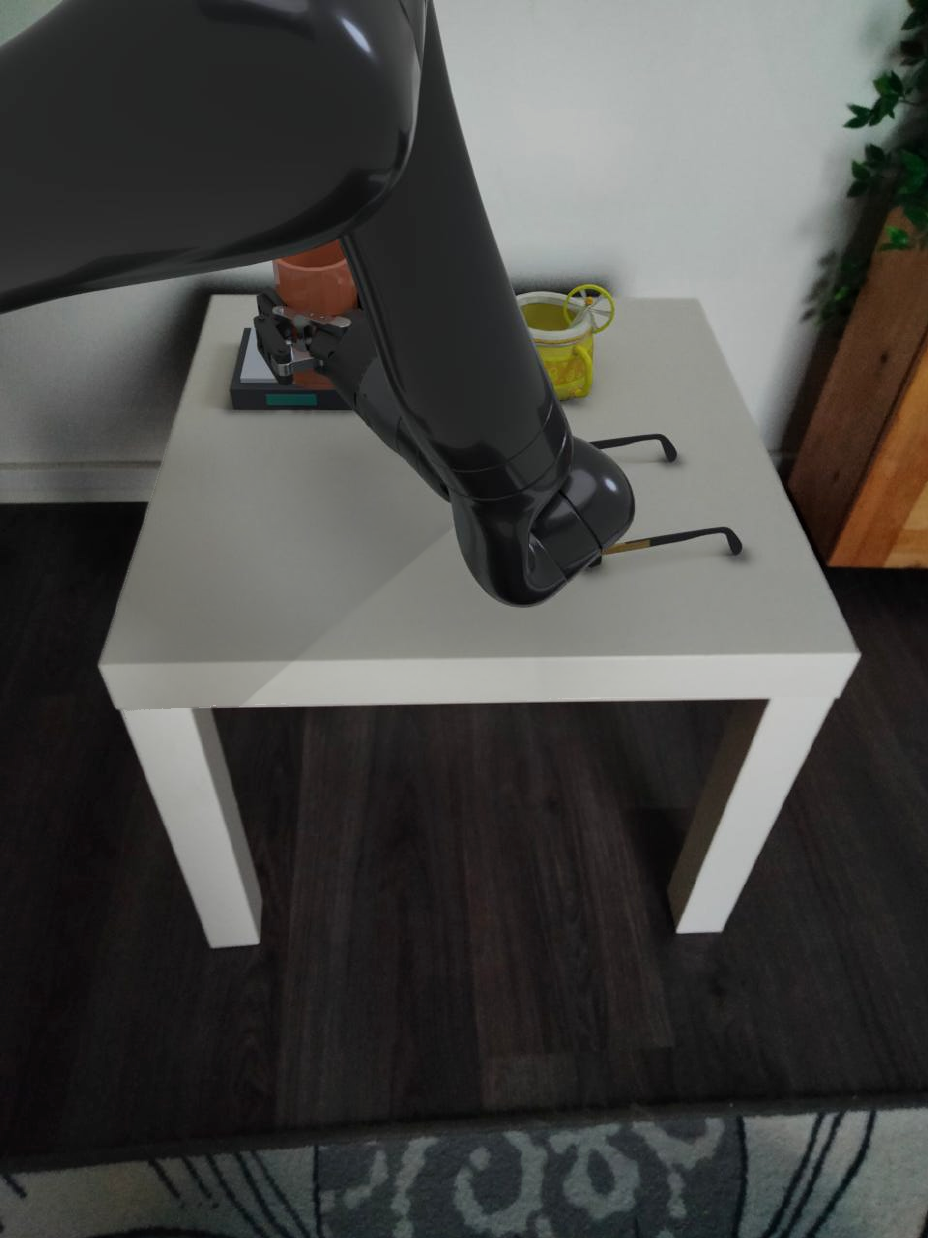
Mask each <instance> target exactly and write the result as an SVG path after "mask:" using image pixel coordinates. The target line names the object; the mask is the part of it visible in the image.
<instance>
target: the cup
mask: <svg viewBox="0 0 928 1238" xmlns="http://www.w3.org/2000/svg"><path fill="white" fill-rule="evenodd" d="M271 262H272V263H271V264H272V272H273V279H274V286H275V293H276V294H277V295H278V296H279V297H280V298H281V299H282V300H283V301H284V302H285V303H286V304H287V307H288V308H291V309H294V310H297V311H300V312H302V311H303V310H305V309H307V308H308V309H311V310H314V311H317V312H320V313H323V314H326V315H329V316H332V315H340V314H344V313H346V312H348V311H351V310H355V309H358V301H357V289H356V286H355V284H354V281H353V278H352V275H351V272H350V269H349V266H348V264H347V261H346V258H345V256H344V253H343V251H342V249H341V246H340V244H339V241H338V240H335V241H333V242H330V243H328V244H325V245H323V246H321V247H318V248H316V249H313V250H310V251H307V252H303V253H300V254H297V255H294V256H289V257H285V258H280V259H276V260H271ZM291 330H292V332H294V333H296V328H295V326H294V325H292V324H291ZM315 330H316V327H314V333H315ZM293 376H294V383H296V384H298V385H300V386H303V387H307V388H312V389H332V388H335V387H334V386H333V384H332V382H331V381H330V379H329V378H327V377H325V376H322V375H319V374H317V373H316V372H314V371H313V370H312V369H311V370H306V371H302V372H297V373H293Z"/></svg>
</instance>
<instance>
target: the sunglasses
mask: <svg viewBox="0 0 928 1238" xmlns="http://www.w3.org/2000/svg"><path fill="white" fill-rule="evenodd" d="M654 440H657V441H659V442H660V443H661V446H662V448H663V452H664V455H665V457H666V459H667V460H668V461H669V462H670V463H671V462H675V461H676V460H677V457H678V451H677V449H676V448H675V446H674V444H673V443H672V442H671V440H670V439H669V438H668V437H667V436H666V435H665V434H663V433H650V434H649V433H648V434H640V435H632V436H631V435H630V436H623V437H615V438H609V439H602V440H594V441H587V442H588V443H590V444H591V445H593V446H595V447H597V448H598V449H600V450H606V449H613V448H619V447H625V446H628V445H631V444H632V445H633V444H636V443H640V442H646V441H654ZM715 534H717V535H718V534H723V535H725V538H726V541H727V544H728V547H729V549H730V552H731V553H732V555H735V556H737V555H739V554H741V552H742V550H743V543H742V541H741V540H740V538H739V536H738V535H737V534H736V533H735V531H733V530H732V529H731V528H730V527H728V526H716V527H709V528H708V527H707V528H702V529H696V530H695V529H694V530H688V531H682V532H676V533H670V534H663V535H658V536H657V535H656V536H651V537H645V538H640V539H634V540H629V541H624V542H616V543H615V544H614V545H613V546H611V547H610V548H609V549H608V550H607V551H605V552H604V553H603V554H601V555H600V556H599V557H598V558H597V559H596V560H595V561H593V562H592V563H591V564H590V565H589V566H588V567H587V568H594V567H597V566H600V565H601V564H602V561H603V557H604V556H609V555H615V554H619V553H620V554H621V553H626V552H627V553H628V552H633V551H638V550H643V549H648V548H653V547H658V546H664V545H669V544H674V543H680V542H686V541H688V540H693V539H696V538H699V537H704V536H708V535H715Z"/></svg>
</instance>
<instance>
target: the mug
mask: <svg viewBox="0 0 928 1238" xmlns="http://www.w3.org/2000/svg"><path fill="white" fill-rule="evenodd" d="M586 290H594V291H597V292H599V293H600V294H599V295H598V297H597V298H596V299H595V300H594V298H593V297H592V296H588V297H587V294H586V293H587V292H586ZM577 292H579V293H580V295H581V298H582V300H583V302H584V303H583V302H582V301H581V300H579V299H577V298H575V297H572V296H573V295H574V294H576V293H577ZM516 298H517V300H518V303H519V306H520V308H521V311H522V313H523V316H524V318H525V321H526V323H527V326H528V328H529V331H530V333H531V335H532V338H533V340H534V342H535V345H536V347H537V350H538V352H539V354H540V356H541V359H542V361H543V363H544V366H545V368H546V370H547V372H548V375H549V377H550V379H551V382H552V384H553V387H554V389H555V391H556V394H557V396H558V399H559V401H562V400H566V399H575V398H578V399H584V398H586V397H587V396H588V395H589V394H590V392H591V389H592V385H593V381H594V379H593V378H594V365H593V364H594V335H595V334H598V333H601V332H603V331H605V330H606V329H607V328H608V327H609V326H610V324H611V323H612V321H613V318H614V315H615V311H616V309H615V303H614V299H613V297H612V296H611V295H610V293H609V291H607V290H606V289H605V288H604V287H601V286H599V285H596V284H589V283H587V284H583V285H579V286H576V287H575V288H573V289H572V290H571V291H570V292H569V293H568V294H563V293H559V292H552V291H543V290H542V291H532V292H531V291H530V292H526V293H521V294H518V295H516ZM605 298H606V299H607V300H608V302H609V306H610V310H603V309H594V307H595V306H596V305H597V304H599V303H600V302H601V301H602V300H603V299H605ZM594 314H598V315H601V316H603V317H606V318H609V319H608V320H607V321H606V323H605V324H603V325H602V326H599V327H598V324H597V323H596V321H595V316H594Z"/></svg>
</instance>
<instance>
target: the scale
mask: <svg viewBox="0 0 928 1238" xmlns="http://www.w3.org/2000/svg"><path fill="white" fill-rule="evenodd" d="M229 393H230V399H231V400H230V401H231V404H232V405H231V406H232V409H233V410H328V411H329V410H330V411H331V410H335V411H336V410H337V411H339V410H341V411H343V410H344V411H346V410H347V411H350V410H351V411H353V409H352V408H351V407H350V406H349V405H348V404H347V403H346V402H345V401H344V400H343V398H342V397H341V396H340V395H339V393H338V392H337V391H336V389H335V388H332V389H312V388H307V387H303V386H300V385H298V384H296V383H294V382H293V383H292V384H289V385H281V384H279V383H278V382H277V381H276V379H275V377H274V376H273V374H272V372H271V371H270V369H269V367H268V366H267V364H266V363H265V361H264V359H263V358H262V356H261V354H260V353H259V351H258V348H257V337H256V330H255V326H252V327H244V328H243V331H242V335H241V340H240V343H239V348H238V353H237V356H236V361H235V365H234V368H233V373H232V378H231V381H230V386H229Z"/></svg>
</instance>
